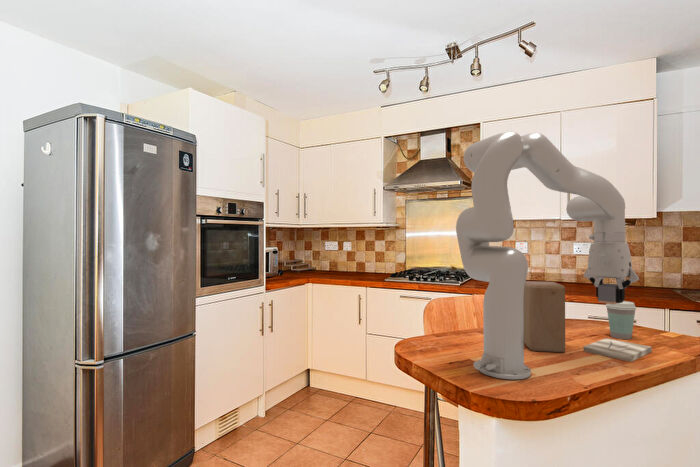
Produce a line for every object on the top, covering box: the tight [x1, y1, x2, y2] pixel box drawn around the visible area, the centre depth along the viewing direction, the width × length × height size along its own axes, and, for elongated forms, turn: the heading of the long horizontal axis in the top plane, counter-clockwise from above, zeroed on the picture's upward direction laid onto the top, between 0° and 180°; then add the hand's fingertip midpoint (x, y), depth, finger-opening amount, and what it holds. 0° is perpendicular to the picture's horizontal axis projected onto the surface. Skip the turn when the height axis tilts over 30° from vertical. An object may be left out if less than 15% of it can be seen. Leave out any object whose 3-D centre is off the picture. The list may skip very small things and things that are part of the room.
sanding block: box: [597, 283, 618, 304], centre depth 111 cm, size 6×4×5 cm, turn 125°
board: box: [582, 338, 653, 363], centre depth 114 cm, size 16×12×2 cm
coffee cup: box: [605, 300, 637, 340], centre depth 131 cm, size 8×8×12 cm
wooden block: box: [524, 280, 566, 353], centre depth 118 cm, size 10×10×20 cm
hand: (610, 300), depth 111 cm, fingers closed on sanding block, 4 cm apart
